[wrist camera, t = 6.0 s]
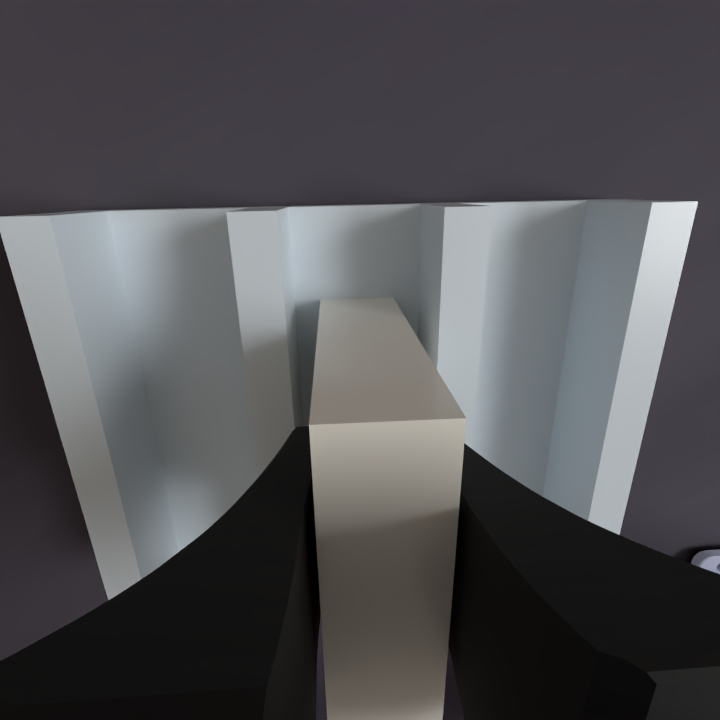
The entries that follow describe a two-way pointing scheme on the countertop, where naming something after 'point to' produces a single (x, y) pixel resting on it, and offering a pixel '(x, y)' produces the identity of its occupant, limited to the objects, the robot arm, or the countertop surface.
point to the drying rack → (299, 336)
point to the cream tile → (383, 512)
